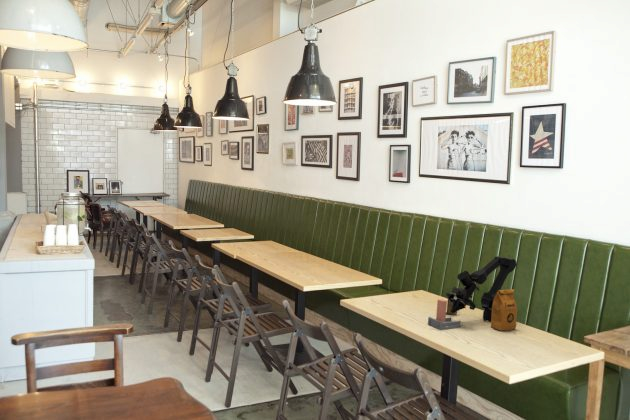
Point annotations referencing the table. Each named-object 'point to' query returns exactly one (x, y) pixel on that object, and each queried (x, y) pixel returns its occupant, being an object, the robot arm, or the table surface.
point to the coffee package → (504, 311)
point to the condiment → (449, 307)
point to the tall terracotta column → (441, 310)
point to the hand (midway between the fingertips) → (451, 312)
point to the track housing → (443, 326)
